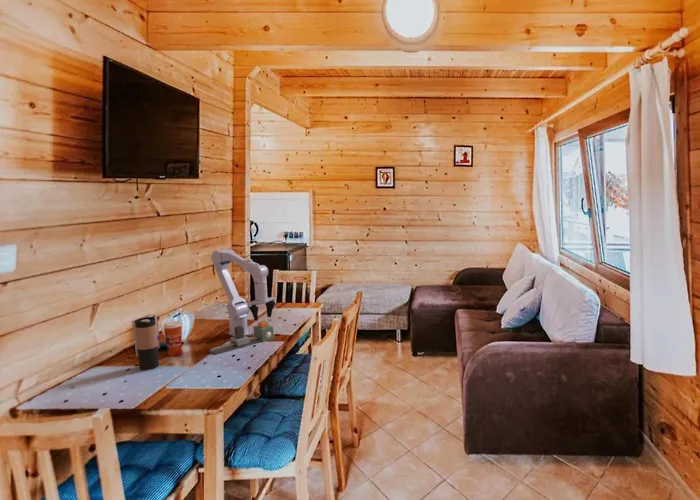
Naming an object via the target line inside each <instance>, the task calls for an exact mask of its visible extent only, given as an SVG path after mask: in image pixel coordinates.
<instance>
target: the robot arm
mask: <svg viewBox="0 0 700 500" xmlns="http://www.w3.org/2000/svg"><path fill="white" fill-rule="evenodd" d="M210 260H211V261H212V263H213V267H214V270H215V273H216V275H217V277H218V280H219V281H220V283H221V284H220V285H222V288H223V290H224V292H225V295H226V297H227V300H228V303H227V305H226V308H227V315H228V316H229V321H228V326H229V332H228V335H230V336H232V337H235V328H234V327H238V326H242V327H244V336H248V335H251V334H252V332H250V331H249V330H248V316H249V313H250V312H251V314H252V317H253V321H256V322H257V321H258V320H259V315H258V312H259V306H258V305H263V304H265V307H266V317H268V318H271V317H272V313H273V309H274V307H275V305H276V297H275V296H272V297H269V296H268V285H267V283H268V282H267V276H269V273H270V272H269V271H270V270H269V268H268V267H267V266H266V264H265V265H264V264H261V265H260V264H259V263H257V262H254V261H253V259H251V258H247V259H246V258H244V257H242V256H240V255H239V254H238V253H236V252H235V250H232V249H231V248H225V249H219V250H214V251H213V252H212V254H211V257H210ZM232 262H233V263H235V264H236V265H238V266H241V269H242V270H244V272H247V273H248V274H250V275H251V277H252V279H253V283H254V295H255V296H254V297H255V298H254V300H251V301H248V302H247V301H246V299H245V298H243V297H241V296H240V295H239V292H238V290H237V288H236V286H235V284H234V281H233V280H232V277H231V274H230V272H229V269H228V268H229V267H230V265H231V264H232Z"/></svg>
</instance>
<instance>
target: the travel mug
mask: <svg viewBox="0 0 700 500" xmlns="http://www.w3.org/2000/svg"><path fill="white" fill-rule="evenodd" d="M134 321H135V328H136V341H137V351H138V357H137V359H138V365H139V366H138V367H139V369H140V371H150V369H151V370H154V369H156V367H157V368H159V365H160V364H159V360H160V359H159V350H158V342H157V332H156V322H155V318H154V317H145V318H142V317H140V319H139V318H137V319H135V320H134Z"/></svg>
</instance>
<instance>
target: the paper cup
mask: <svg viewBox="0 0 700 500" xmlns="http://www.w3.org/2000/svg"><path fill="white" fill-rule="evenodd" d="M182 326H183V323H182V322H181V321H180V320H171V321H170V320H169V321H167V322H164V324H163V326H162V327H163V329H164V335H165V342H166V349H167V354H168V356H170V357H171V356H172V357H173V356H178V355H181V354H182V352H183V349H182V348H183V347H182V346H183V345H182V343H183V342H182V340H183V339H182Z"/></svg>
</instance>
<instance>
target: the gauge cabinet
mask: <svg viewBox="0 0 700 500" xmlns="http://www.w3.org/2000/svg"><path fill="white" fill-rule="evenodd" d="M274 335H275V334H274V326H273V325H270V324H268V327H265V328H260V327H258V324H257V325H254V326H253V337H254V336H257V337H258V340H260V342H266V341H270V340H273V339H275V336H274Z"/></svg>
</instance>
